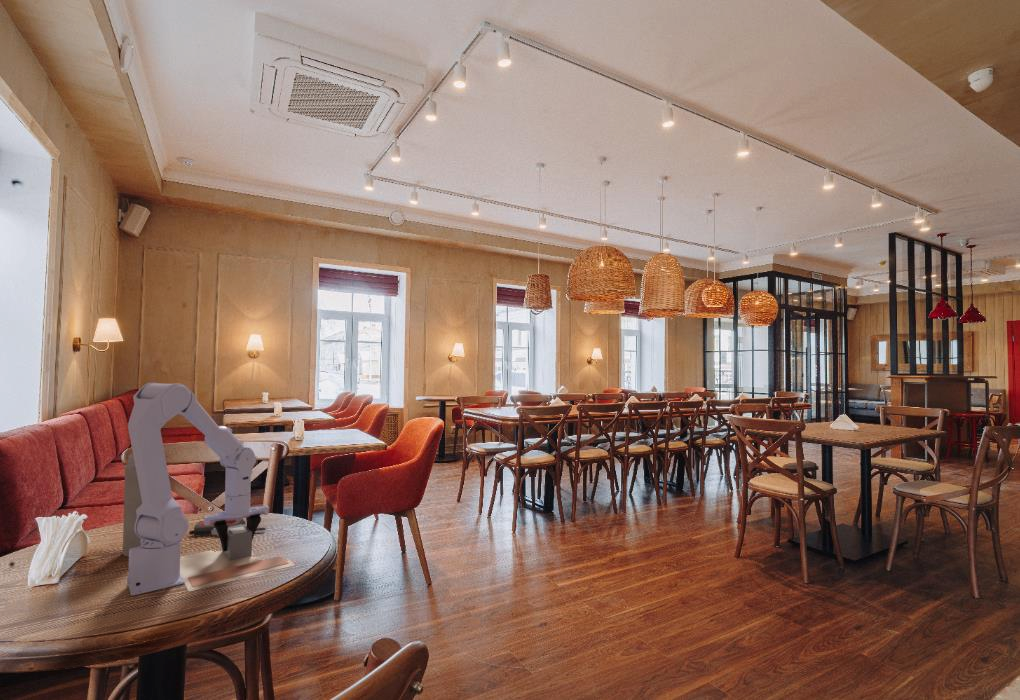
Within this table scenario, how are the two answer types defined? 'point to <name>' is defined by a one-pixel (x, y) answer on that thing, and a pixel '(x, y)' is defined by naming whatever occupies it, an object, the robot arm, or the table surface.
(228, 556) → the block
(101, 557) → the table surface
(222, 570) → the subfloor panel
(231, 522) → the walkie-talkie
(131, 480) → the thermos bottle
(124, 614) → the table surface
